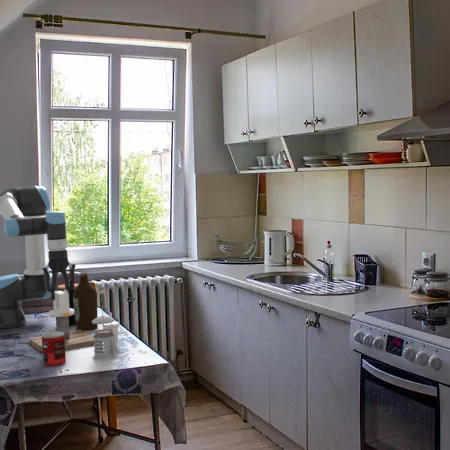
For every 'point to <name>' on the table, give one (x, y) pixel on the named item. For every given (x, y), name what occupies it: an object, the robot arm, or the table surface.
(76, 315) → the olive oil
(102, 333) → the french press
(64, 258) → the robot arm
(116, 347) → the smoothie
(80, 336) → the post board
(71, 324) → the coffee jar
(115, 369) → the table surface
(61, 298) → the cap
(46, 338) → the canned food
